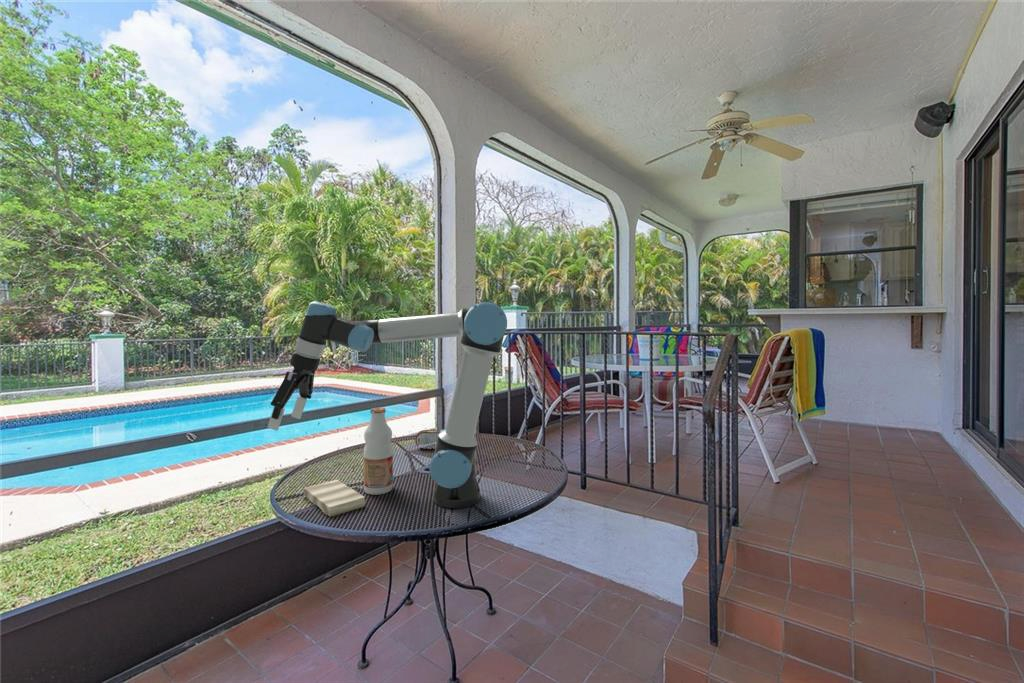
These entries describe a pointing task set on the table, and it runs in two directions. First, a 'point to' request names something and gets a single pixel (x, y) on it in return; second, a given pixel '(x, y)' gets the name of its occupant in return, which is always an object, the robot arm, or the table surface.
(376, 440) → the fruit juice
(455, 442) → the robot arm
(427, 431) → the tin
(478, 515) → the table surface
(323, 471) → the table surface
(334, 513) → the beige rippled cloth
